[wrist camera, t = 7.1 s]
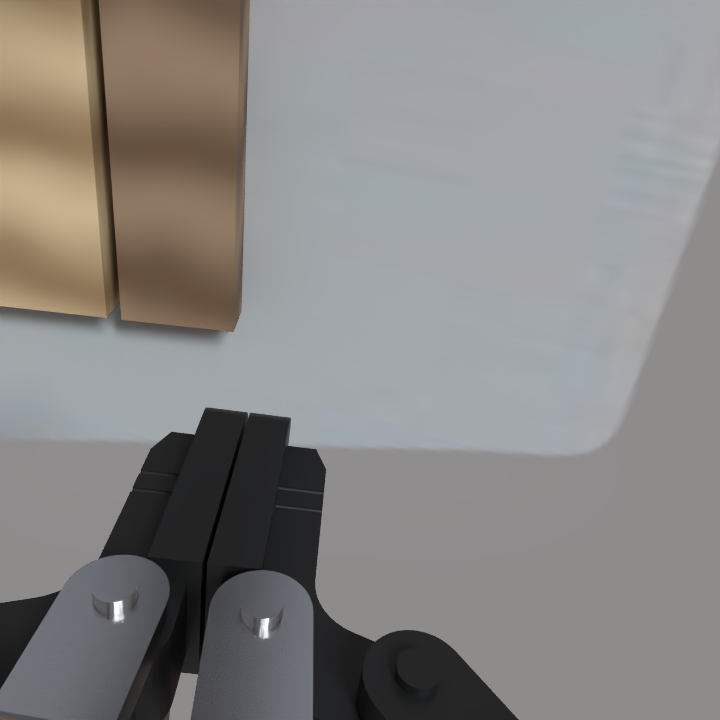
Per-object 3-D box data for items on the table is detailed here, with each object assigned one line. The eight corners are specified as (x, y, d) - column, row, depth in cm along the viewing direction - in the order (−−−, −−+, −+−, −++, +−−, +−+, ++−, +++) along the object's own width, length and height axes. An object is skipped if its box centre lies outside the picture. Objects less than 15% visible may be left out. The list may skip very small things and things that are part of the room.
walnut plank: (110, -129, 29) (88, -137, 27) (252, -110, 29) (242, -117, 27) (135, 300, 39) (121, 320, 36) (241, 311, 39) (233, 331, 37)
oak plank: (-101, -157, 28) (-139, -167, 26) (91, -131, 29) (68, -140, 27) (-21, 283, 38) (-45, 301, 36) (121, 299, 39) (106, 317, 36)
